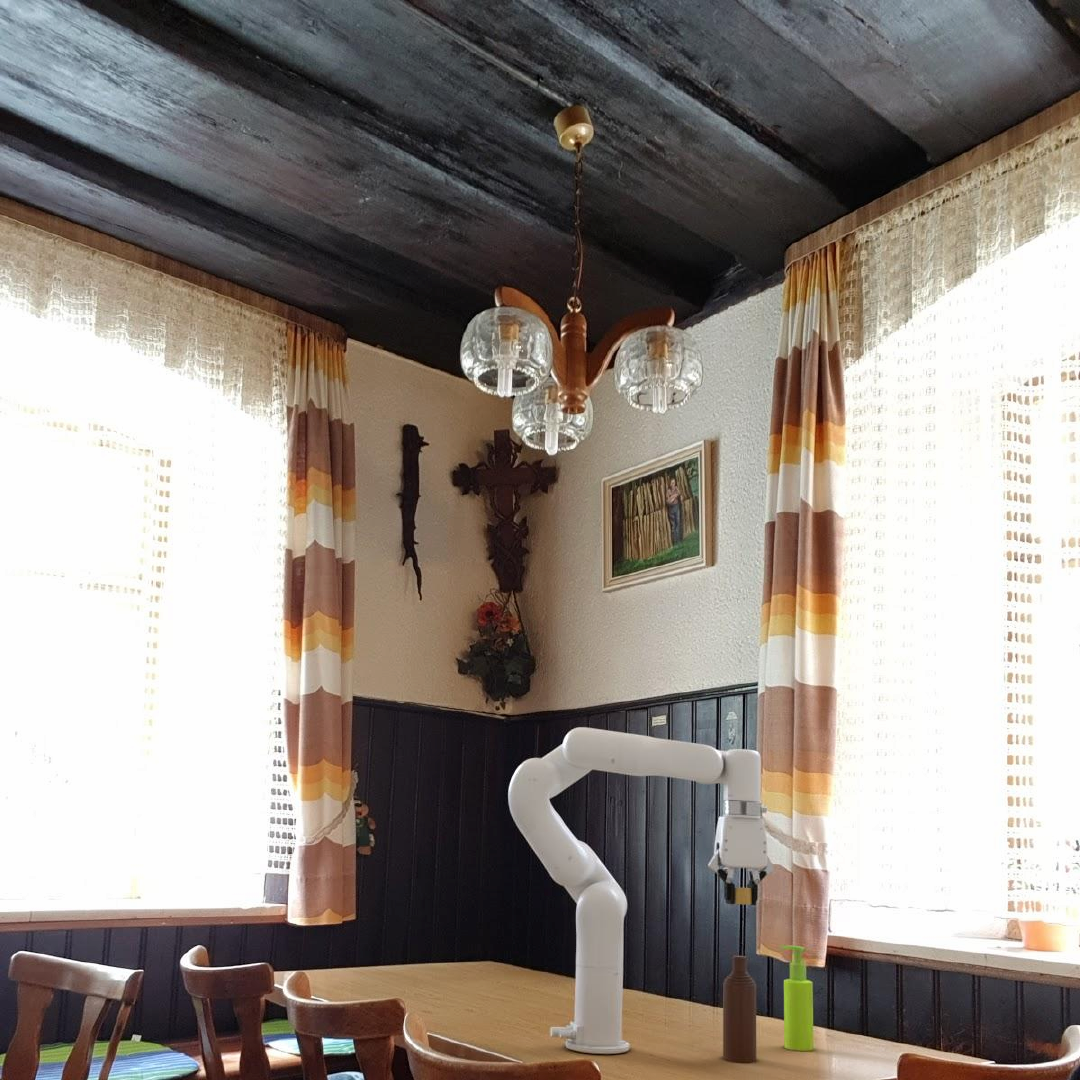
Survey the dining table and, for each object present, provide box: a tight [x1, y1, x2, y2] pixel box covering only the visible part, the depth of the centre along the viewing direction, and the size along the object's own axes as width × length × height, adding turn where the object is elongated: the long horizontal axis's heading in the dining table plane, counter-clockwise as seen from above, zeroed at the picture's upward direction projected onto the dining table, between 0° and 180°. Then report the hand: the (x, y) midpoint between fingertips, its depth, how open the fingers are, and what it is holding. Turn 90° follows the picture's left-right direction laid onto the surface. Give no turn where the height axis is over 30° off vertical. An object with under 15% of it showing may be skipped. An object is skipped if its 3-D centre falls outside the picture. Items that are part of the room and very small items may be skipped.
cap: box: [733, 886, 752, 906], centre depth 236 cm, size 4×4×3 cm
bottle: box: [722, 955, 757, 1064], centre depth 231 cm, size 6×6×19 cm
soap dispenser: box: [778, 944, 815, 1052], centre depth 246 cm, size 6×7×20 cm
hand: (740, 903), depth 236 cm, fingers closed on cap, 3 cm apart
